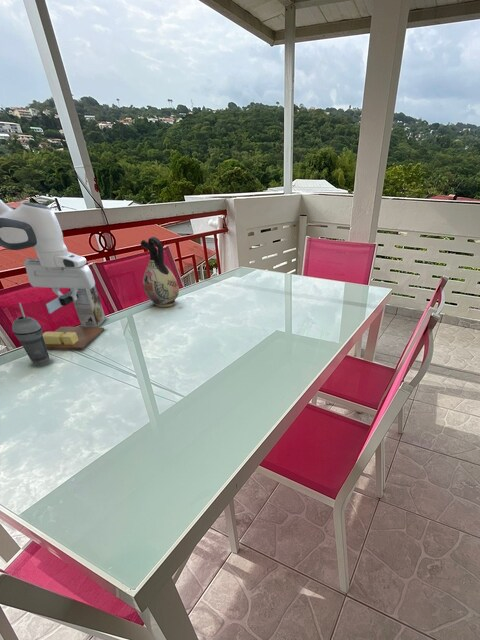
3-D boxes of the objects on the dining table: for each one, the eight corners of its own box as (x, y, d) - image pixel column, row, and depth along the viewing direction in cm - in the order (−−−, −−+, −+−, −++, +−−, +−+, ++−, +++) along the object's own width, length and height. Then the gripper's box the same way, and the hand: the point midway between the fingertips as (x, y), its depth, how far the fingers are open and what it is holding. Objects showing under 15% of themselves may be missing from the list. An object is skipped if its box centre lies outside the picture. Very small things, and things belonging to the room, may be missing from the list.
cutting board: (34, 349, 115) (33, 346, 114) (62, 329, 129) (61, 326, 129) (82, 350, 116) (81, 347, 115) (104, 330, 131) (103, 327, 130)
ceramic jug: (140, 304, 157) (124, 235, 140) (167, 297, 167) (156, 231, 150) (162, 313, 149) (149, 240, 132) (190, 304, 160) (180, 236, 143)
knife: (45, 313, 108) (42, 304, 106) (72, 297, 122) (69, 288, 120) (53, 313, 108) (49, 304, 106) (78, 297, 122) (76, 288, 120)
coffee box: (90, 319, 139) (77, 279, 130) (106, 319, 140) (95, 280, 131) (80, 327, 132) (66, 286, 123) (98, 327, 133) (85, 286, 123)
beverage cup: (38, 357, 110) (12, 298, 99) (60, 358, 110) (36, 299, 99) (23, 367, 104) (-7, 306, 93) (46, 369, 104) (18, 307, 93)
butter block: (42, 344, 116) (39, 336, 114) (49, 339, 119) (45, 331, 117) (60, 344, 116) (57, 336, 115) (66, 339, 120) (63, 331, 118)
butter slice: (64, 344, 116) (61, 336, 115) (70, 339, 120) (67, 332, 118) (73, 344, 117) (70, 336, 115) (78, 339, 120) (75, 332, 118)
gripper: (15, 259, 107) (32, 301, 115) (81, 262, 108) (94, 304, 116) (27, 255, 112) (43, 296, 120) (90, 258, 114) (101, 298, 121)
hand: (68, 300), depth 118 cm, fingers closed on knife, 2 cm apart
